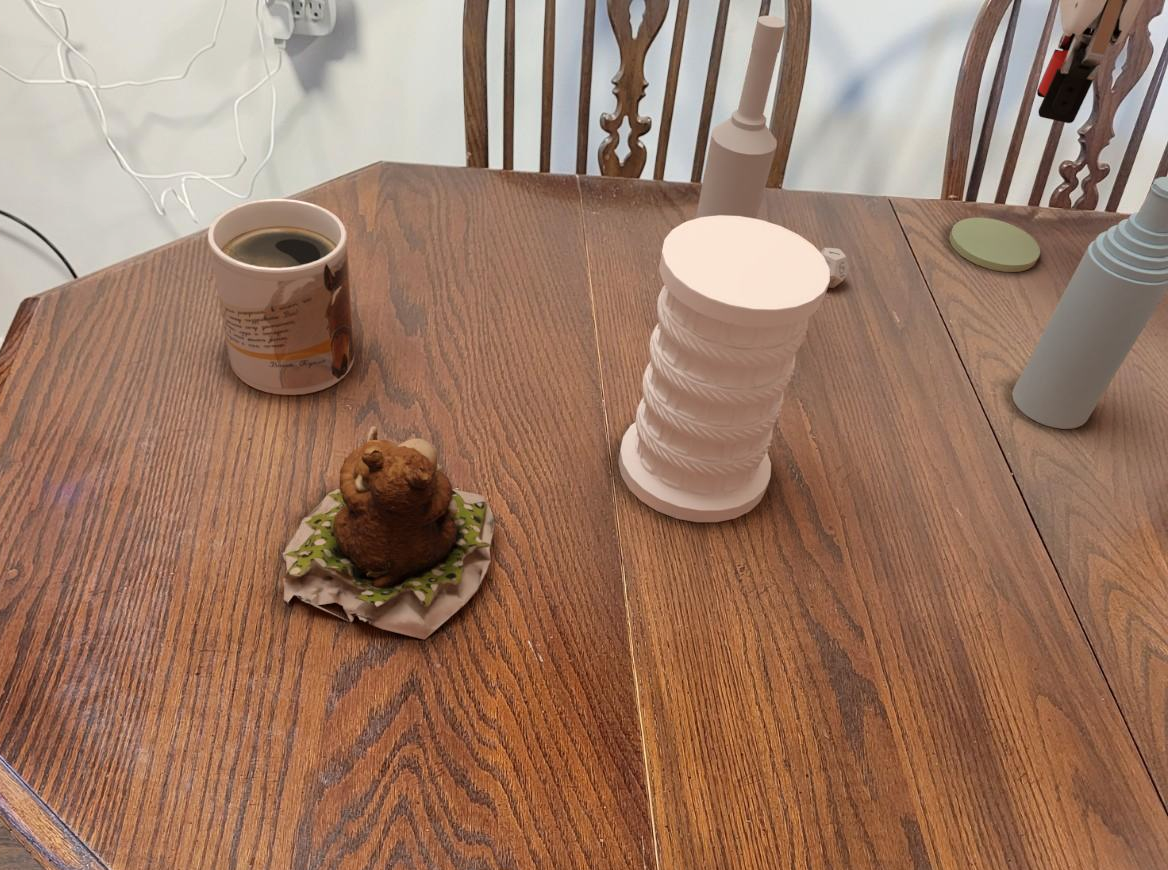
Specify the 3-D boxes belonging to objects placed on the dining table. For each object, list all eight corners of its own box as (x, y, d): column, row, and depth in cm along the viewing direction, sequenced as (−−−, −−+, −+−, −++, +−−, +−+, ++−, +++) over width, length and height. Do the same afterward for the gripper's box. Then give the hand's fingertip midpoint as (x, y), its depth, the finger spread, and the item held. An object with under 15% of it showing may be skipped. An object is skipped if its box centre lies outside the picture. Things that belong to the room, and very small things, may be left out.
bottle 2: (1086, 391, 92) (1214, 174, 77) (1090, 437, 88) (1228, 217, 73) (1011, 373, 93) (1124, 155, 78) (1012, 418, 89) (1132, 196, 73)
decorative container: (618, 515, 76) (658, 302, 63) (618, 413, 84) (654, 203, 70) (774, 529, 77) (848, 322, 63) (760, 427, 84) (823, 222, 71)
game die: (841, 296, 98) (851, 267, 96) (803, 286, 99) (811, 257, 96) (846, 277, 100) (856, 249, 98) (809, 267, 101) (817, 239, 99)
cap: (1034, 81, 97) (1049, 47, 94) (1075, 87, 97) (1091, 53, 94) (1043, 100, 94) (1058, 65, 92) (1085, 106, 94) (1102, 72, 92)
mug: (204, 339, 85) (179, 212, 76) (336, 298, 90) (327, 175, 82) (265, 411, 80) (245, 284, 71) (401, 363, 85) (397, 239, 77)
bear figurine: (526, 511, 75) (540, 375, 66) (440, 663, 66) (442, 528, 57) (356, 455, 77) (346, 314, 68) (247, 594, 68) (219, 453, 59)
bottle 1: (663, 307, 94) (722, 9, 75) (712, 298, 96) (782, 4, 77) (691, 340, 91) (760, 39, 72) (741, 330, 93) (821, 33, 74)
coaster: (1035, 236, 110) (1039, 229, 109) (1038, 280, 104) (1041, 273, 103) (950, 216, 110) (953, 209, 110) (947, 259, 105) (950, 252, 104)
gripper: (1104, -159, 88) (1012, 64, 102) (1119, -104, 77) (1014, 138, 91) (1195, -142, 88) (1089, 81, 101) (1222, -83, 77) (1100, 157, 91)
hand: (1054, 106), depth 96 cm, fingers closed on cap, 3 cm apart
